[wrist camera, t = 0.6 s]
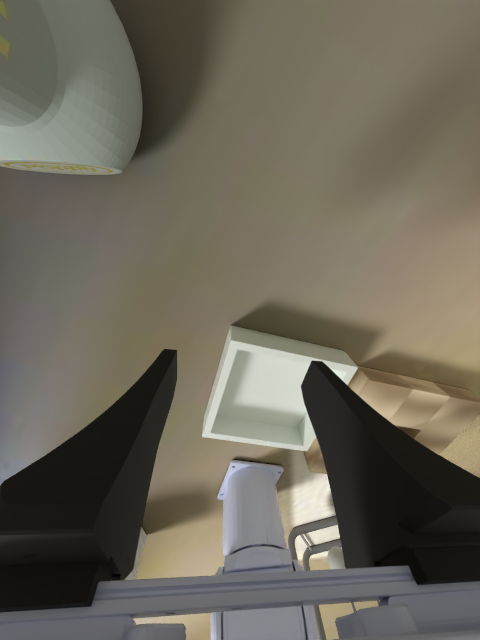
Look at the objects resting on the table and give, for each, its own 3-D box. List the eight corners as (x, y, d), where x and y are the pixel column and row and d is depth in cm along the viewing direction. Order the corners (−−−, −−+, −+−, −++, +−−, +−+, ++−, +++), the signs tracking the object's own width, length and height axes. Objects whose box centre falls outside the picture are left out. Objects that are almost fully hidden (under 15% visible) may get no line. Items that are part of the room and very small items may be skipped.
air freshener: (145, 18, 13) (-27, -395, 4) (162, 178, 17) (87, 135, 8) (-48, 4, 13) (-711, -506, 4) (12, 173, 16) (-257, 120, 7)
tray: (299, 429, 30) (307, 451, 27) (204, 415, 28) (201, 436, 25) (343, 350, 25) (358, 367, 22) (230, 325, 22) (230, 340, 20)
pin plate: (397, 466, 34) (409, 484, 32) (304, 453, 32) (309, 471, 30) (467, 389, 28) (488, 404, 26) (357, 365, 26) (369, 380, 23)
